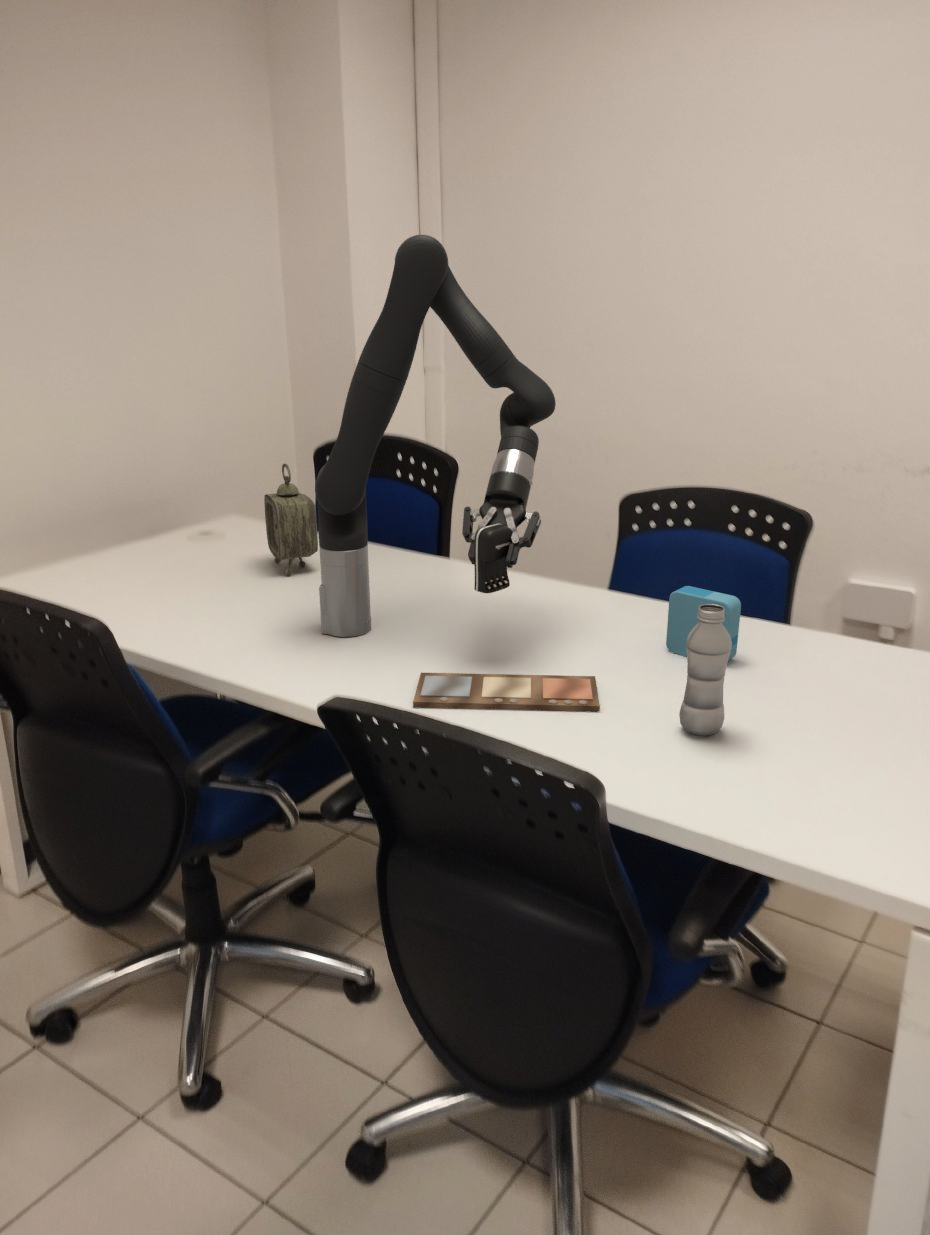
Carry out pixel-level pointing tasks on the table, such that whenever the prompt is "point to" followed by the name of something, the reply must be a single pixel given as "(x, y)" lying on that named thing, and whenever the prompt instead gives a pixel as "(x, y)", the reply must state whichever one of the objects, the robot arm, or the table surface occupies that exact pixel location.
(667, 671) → the table surface
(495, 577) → the battery charger
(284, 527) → the tabletop clock
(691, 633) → the plastic bottle
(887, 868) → the table surface
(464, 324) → the robot arm
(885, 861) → the table surface
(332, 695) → the table surface
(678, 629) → the data package
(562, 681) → the tile board
